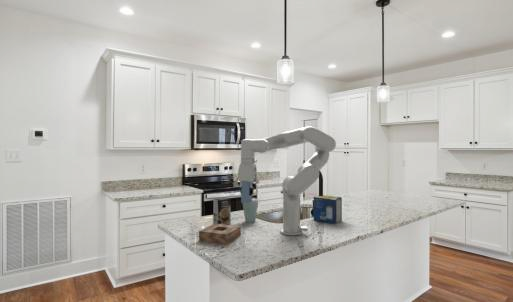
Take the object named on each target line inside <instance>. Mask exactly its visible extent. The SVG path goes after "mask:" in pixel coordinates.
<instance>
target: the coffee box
mask: <svg viewBox="0 0 513 302" xmlns="http://www.w3.org/2000/svg"><path fill="white" fill-rule="evenodd" d="M231 199H232V198H230V197H229V198H228V197H220V198H219V197H217V198H213V201H212V202H213V204H212V205H213V207H212V208H213V209H212V210H213V211H212V212H213V214H212V215H213V216H212V225H213V224H224V225H232V224H231V218H232V217H231V216H232V215H231V210H232V209H231V207H232V206H231V202H232V201H231Z"/></svg>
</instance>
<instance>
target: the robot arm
mask: <svg viewBox="0 0 513 302" xmlns="http://www.w3.org/2000/svg"><path fill="white" fill-rule="evenodd" d="M306 143H310V144H312V145H314V146H315V152H314V153H313V155H312V156H311V157H309V159H308V160H306V161H305V162H304V163H303V164H301V165H300V166H299V168H298V169H297V173H296V175H289V176H286V177H285V178H284V179H283V182H282V185H281V186H282V187H281V189H282V228H281V229H279V232H280V234H281V235H285V236H300V235H302V234H303V233H304V232H308V230H309V228H308V227H307V226H302V223H301V194H303V193H304V192H305V191H307V190H308V188H310V187H311V186H312V185H314V184H315V182H316V181H317V180H318V179H319V176H320V170H322V168H323V167H324V166H325V165H326V164H327V163H328V161H329V159H330V152H333V151H334V150H335V148H336V147H337V142H336V139H335V138H334V137H332V136H331V135H329V134H327V133H325V132H324V131H323V130H320V129H318V128H316V127H315V126H311V125H310V126H305V127H301V128H296V129H293V130H289V131H285V132H281V133H279V134H276V135H273V136H269V137H265V138H261V139H251V138H250V139H249V138H246V139H244V138H243V139H242V140H241V143H240V163H239V166H238V171H237V177H236V178H235V180H234V181H235V183H237V185H238V186H239V190H240V191H239V192H240V194H241V189H242V181H249V182H250V192H249V195H250V196H251V195H252V196H253V194H254V188H255V187H256V186H257V185H258V184H260V181H259V178H258V169H257V164H255V163H257V162H258V160H257V159H255V158H256V157H255V153H260V154H263V153H265V154H266V152H268V151H273V150H278V149H285V148H290V147H293V146H298V145H301V144H306Z"/></svg>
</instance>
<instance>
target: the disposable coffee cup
mask: <svg viewBox="0 0 513 302" xmlns="http://www.w3.org/2000/svg"><path fill="white" fill-rule="evenodd" d="M258 205H259V200H258V198H256V197H252V202H251V203H242V207H243V216H244V221H245V222H246V223H255V222H256V219H257V211H258Z"/></svg>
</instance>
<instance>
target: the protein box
mask: <svg viewBox="0 0 513 302" xmlns="http://www.w3.org/2000/svg"><path fill="white" fill-rule="evenodd" d="M322 195H323V196H319V195H316V196H313V221H315V222H321V223H327V224H331V225H332V224H333V225H335V224H338V223H340V222H342V221H343V220H342V217H343V216H342V215H343V213H342V212H343V211H342V210H343V208H342V207H343V203H342V200H343V199H342V196H333V195H324V194H322Z"/></svg>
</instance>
